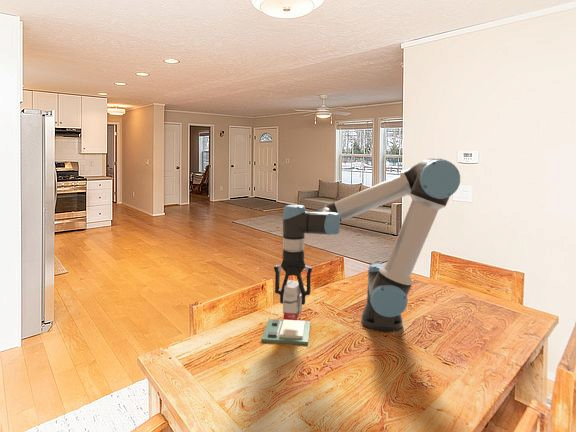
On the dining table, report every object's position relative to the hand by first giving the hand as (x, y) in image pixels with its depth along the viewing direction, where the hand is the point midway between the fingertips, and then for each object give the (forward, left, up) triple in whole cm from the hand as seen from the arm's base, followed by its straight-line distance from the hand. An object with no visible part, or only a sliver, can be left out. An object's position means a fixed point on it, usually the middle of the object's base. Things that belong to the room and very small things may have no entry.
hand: (292, 312), depth 136 cm
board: (+2, 0, -8) cm, 8 cm away
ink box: (0, 0, -1) cm, 1 cm away
